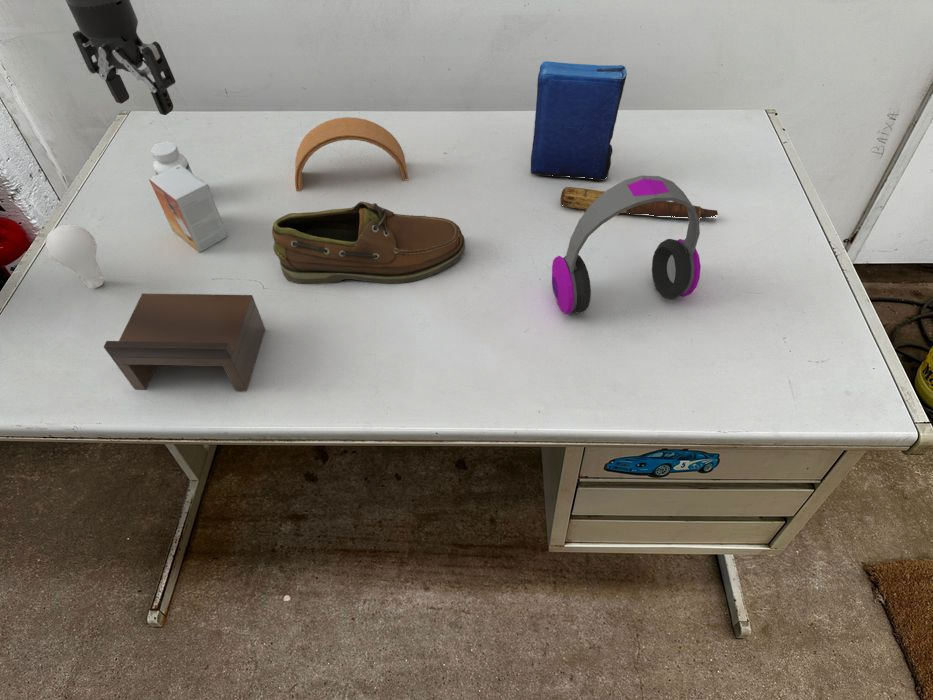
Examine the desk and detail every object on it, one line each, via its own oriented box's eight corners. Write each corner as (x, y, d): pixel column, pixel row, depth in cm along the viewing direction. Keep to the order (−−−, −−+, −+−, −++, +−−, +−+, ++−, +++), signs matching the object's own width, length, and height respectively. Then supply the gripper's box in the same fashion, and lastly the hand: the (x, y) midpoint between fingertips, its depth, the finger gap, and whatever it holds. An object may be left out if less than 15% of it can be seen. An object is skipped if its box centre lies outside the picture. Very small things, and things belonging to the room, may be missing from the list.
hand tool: (560, 197, 106) (563, 182, 104) (714, 216, 103) (720, 201, 101) (558, 210, 104) (561, 195, 102) (715, 230, 101) (722, 214, 99)
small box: (172, 231, 101) (146, 178, 93) (202, 216, 103) (179, 162, 95) (199, 254, 97) (174, 200, 89) (229, 237, 100) (208, 183, 92)
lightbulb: (94, 268, 95) (58, 211, 87) (127, 276, 94) (93, 220, 86) (67, 295, 92) (26, 238, 83) (101, 304, 91) (63, 247, 82)
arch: (297, 171, 111) (284, 121, 104) (405, 162, 113) (401, 112, 105) (296, 191, 108) (282, 140, 100) (408, 181, 110) (404, 130, 102)
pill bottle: (162, 202, 106) (138, 153, 98) (182, 185, 109) (161, 135, 101) (187, 209, 104) (165, 160, 97) (207, 192, 108) (187, 143, 100)
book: (608, 168, 112) (630, 60, 96) (608, 186, 109) (631, 77, 93) (530, 162, 113) (540, 54, 98) (528, 179, 110) (538, 70, 94)
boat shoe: (472, 273, 95) (472, 222, 87) (282, 302, 91) (265, 252, 83) (458, 230, 101) (457, 179, 93) (280, 255, 97) (264, 205, 90)
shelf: (162, 327, 88) (135, 282, 81) (265, 328, 87) (248, 284, 80) (134, 389, 81) (103, 346, 74) (246, 391, 81) (226, 348, 74)
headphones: (559, 328, 87) (579, 218, 72) (543, 286, 93) (558, 174, 77) (694, 308, 90) (742, 197, 74) (670, 267, 95) (710, 156, 80)
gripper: (32, -6, 80) (91, 109, 93) (115, 12, 77) (165, 128, 90) (75, -26, 85) (126, 86, 97) (156, -10, 81) (198, 104, 94)
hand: (145, 106), depth 93 cm, fingers open, 8 cm apart
